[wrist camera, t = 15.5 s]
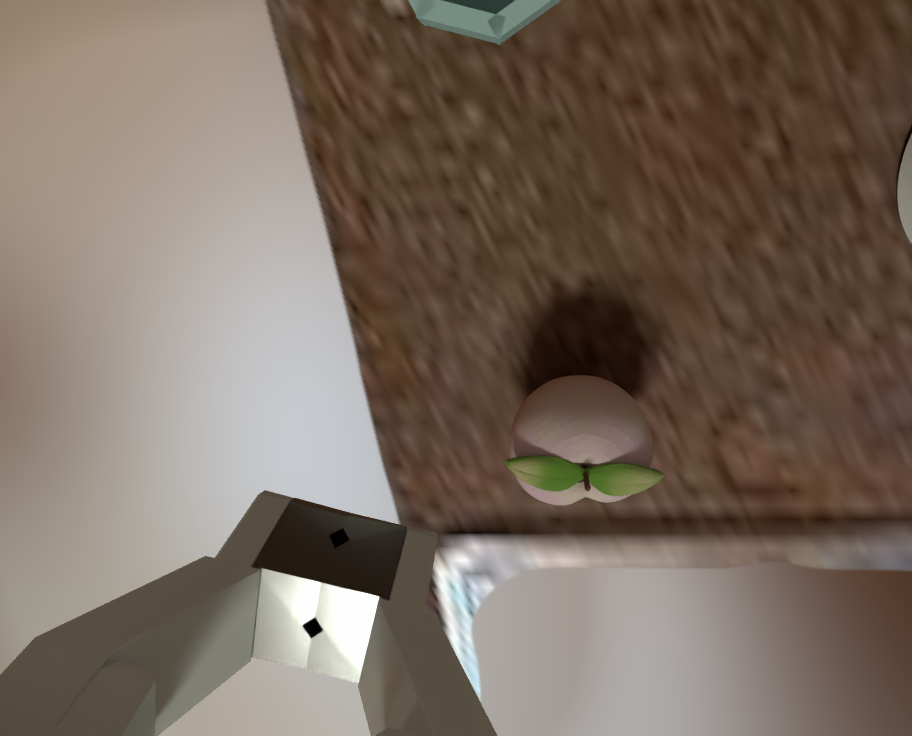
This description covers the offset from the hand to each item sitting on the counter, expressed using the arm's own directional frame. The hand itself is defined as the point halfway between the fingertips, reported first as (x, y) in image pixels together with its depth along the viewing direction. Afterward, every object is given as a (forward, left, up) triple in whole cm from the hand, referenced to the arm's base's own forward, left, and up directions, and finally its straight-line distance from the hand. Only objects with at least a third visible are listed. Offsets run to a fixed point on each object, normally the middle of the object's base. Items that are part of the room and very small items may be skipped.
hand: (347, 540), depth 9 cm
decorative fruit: (-10, +10, -29) cm, 33 cm away
